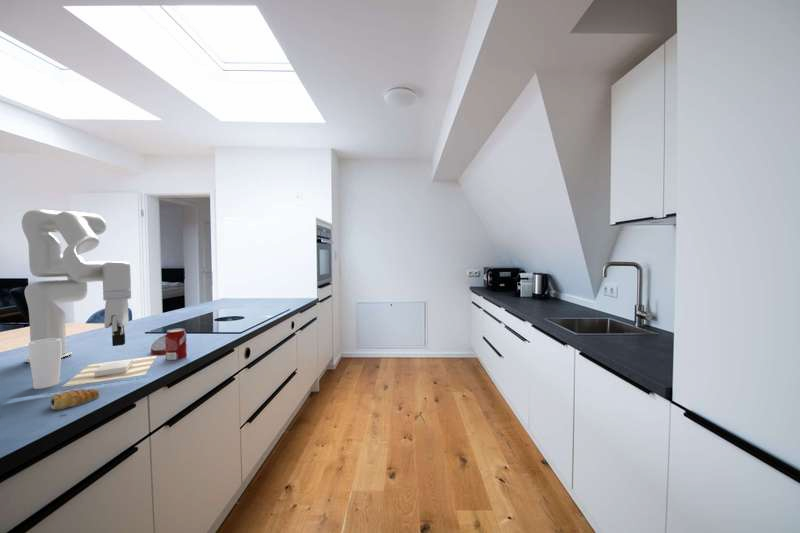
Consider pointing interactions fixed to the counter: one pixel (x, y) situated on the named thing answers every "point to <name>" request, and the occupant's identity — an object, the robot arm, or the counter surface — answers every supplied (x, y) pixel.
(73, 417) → the counter surface
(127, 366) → the block
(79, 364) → the counter surface
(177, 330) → the soda can
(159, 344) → the canned food
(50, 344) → the drinking glass
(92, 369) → the board
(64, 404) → the pastry
